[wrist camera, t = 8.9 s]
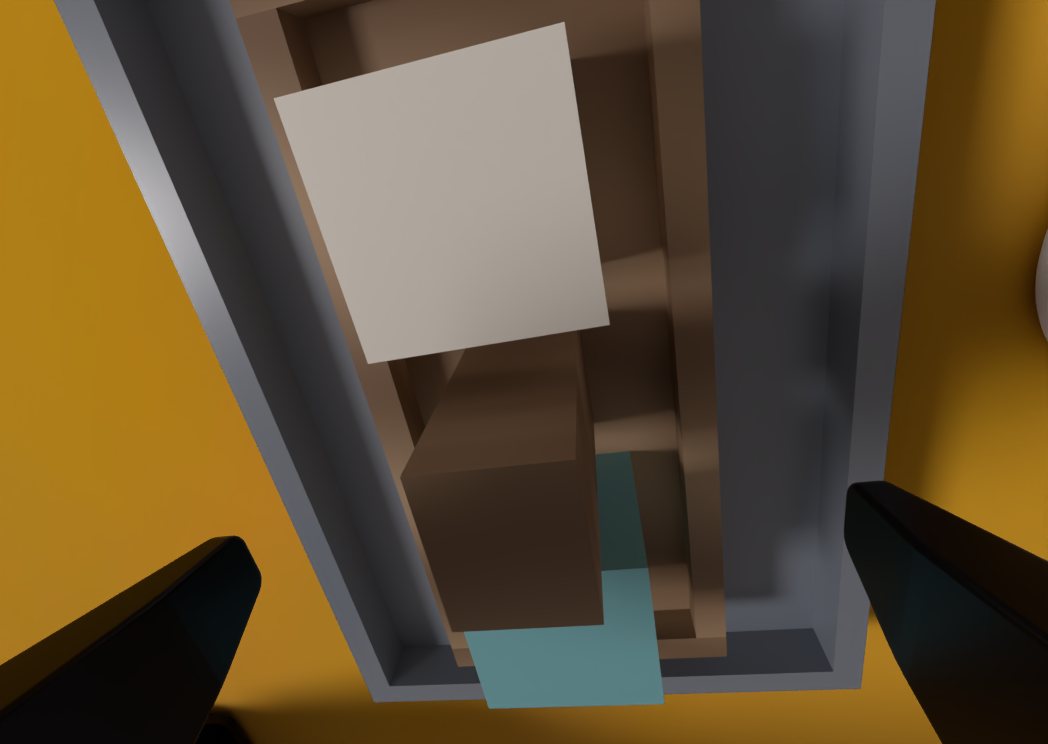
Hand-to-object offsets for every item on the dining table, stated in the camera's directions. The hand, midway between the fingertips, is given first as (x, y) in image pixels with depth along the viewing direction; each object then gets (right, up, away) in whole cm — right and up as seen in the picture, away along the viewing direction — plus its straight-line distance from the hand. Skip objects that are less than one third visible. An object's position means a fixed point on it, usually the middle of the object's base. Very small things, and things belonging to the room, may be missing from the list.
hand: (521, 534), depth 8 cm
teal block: (+1, -2, +7) cm, 7 cm away
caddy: (+1, +3, +6) cm, 7 cm away
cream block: (-1, +6, +3) cm, 7 cm away
